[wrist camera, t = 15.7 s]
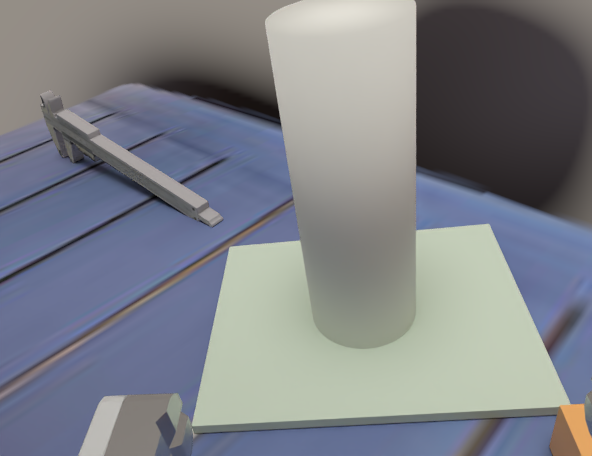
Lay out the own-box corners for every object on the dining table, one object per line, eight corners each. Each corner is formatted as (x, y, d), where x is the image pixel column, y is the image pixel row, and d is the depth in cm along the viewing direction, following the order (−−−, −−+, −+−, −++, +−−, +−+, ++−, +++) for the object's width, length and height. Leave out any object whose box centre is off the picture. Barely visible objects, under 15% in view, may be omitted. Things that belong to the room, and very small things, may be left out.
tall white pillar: (312, 352, 24) (259, 45, 16) (312, 278, 28) (269, 2, 20) (424, 344, 24) (428, 23, 15) (407, 270, 28) (404, -16, 19)
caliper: (60, 159, 47) (30, 92, 43) (72, 154, 47) (42, 87, 44) (213, 231, 35) (189, 146, 31) (225, 223, 35) (203, 138, 32)
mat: (194, 433, 22) (191, 426, 22) (231, 253, 32) (229, 246, 32) (569, 414, 21) (571, 406, 20) (488, 231, 30) (488, 223, 30)
